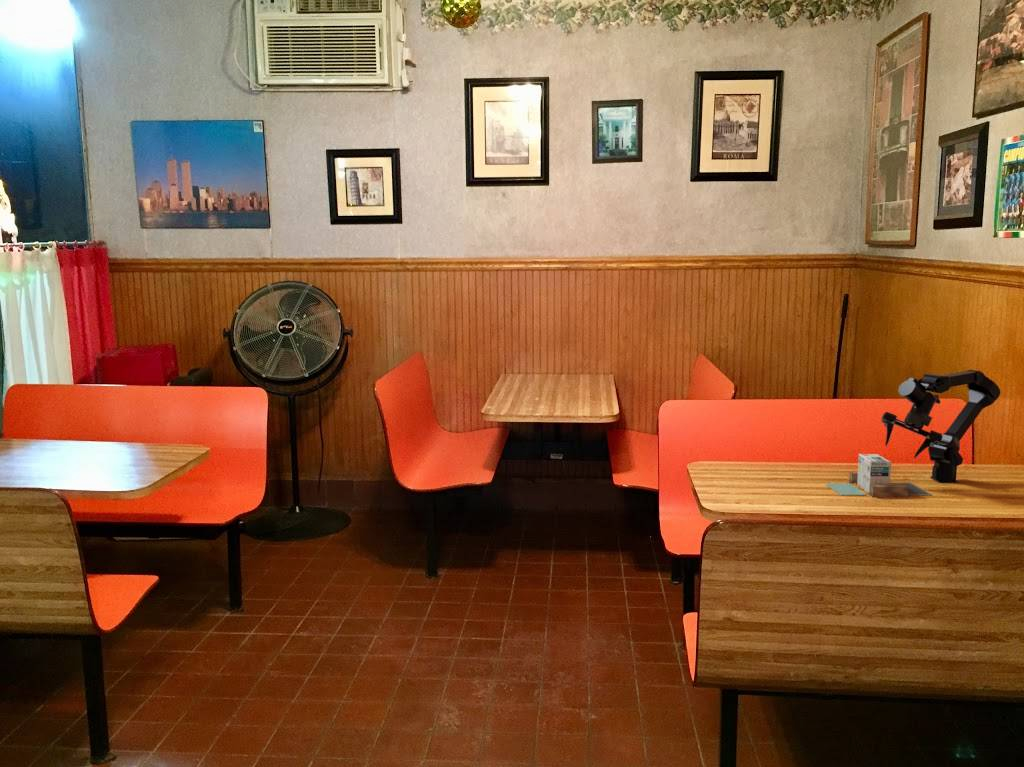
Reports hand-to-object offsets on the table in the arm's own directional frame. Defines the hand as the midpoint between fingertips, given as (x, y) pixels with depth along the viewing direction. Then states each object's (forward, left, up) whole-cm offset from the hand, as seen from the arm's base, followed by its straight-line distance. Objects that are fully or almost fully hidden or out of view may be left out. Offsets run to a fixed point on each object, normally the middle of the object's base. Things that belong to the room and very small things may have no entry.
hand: (900, 451), depth 275 cm
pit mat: (-3, +2, -12) cm, 13 cm away
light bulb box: (+9, +2, -12) cm, 15 cm away
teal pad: (+18, +2, -12) cm, 22 cm away
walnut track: (+8, +2, -12) cm, 14 cm away
